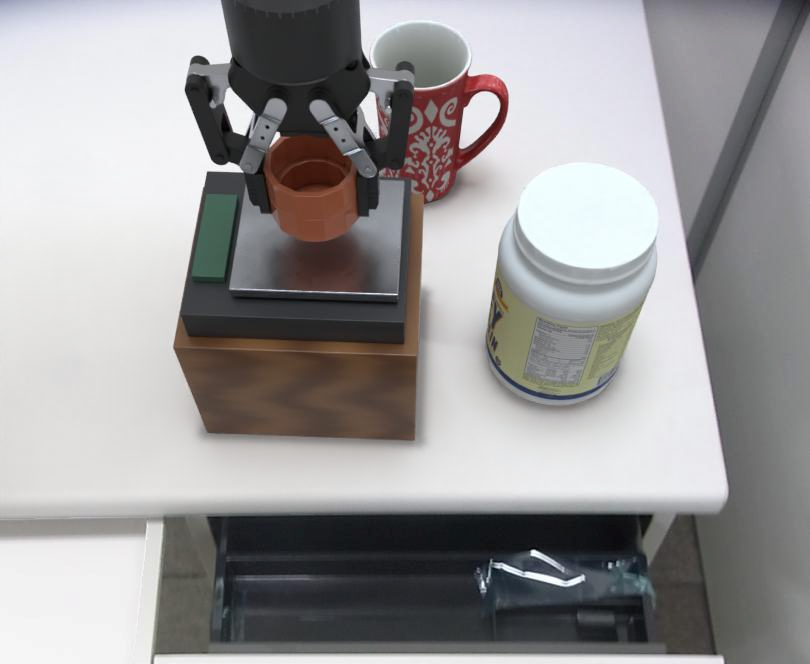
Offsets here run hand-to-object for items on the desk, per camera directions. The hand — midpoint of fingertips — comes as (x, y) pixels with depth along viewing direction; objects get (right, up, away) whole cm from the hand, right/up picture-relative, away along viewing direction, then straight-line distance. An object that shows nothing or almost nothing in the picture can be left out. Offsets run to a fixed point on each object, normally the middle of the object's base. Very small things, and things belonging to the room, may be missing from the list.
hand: (315, 206), depth 59 cm
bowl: (0, 0, +1) cm, 1 cm away
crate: (-1, -7, +17) cm, 18 cm away
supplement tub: (+20, -7, +17) cm, 27 cm away
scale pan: (0, -1, +3) cm, 3 cm away
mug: (+9, +13, +26) cm, 30 cm away
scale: (-1, -2, +6) cm, 6 cm away
